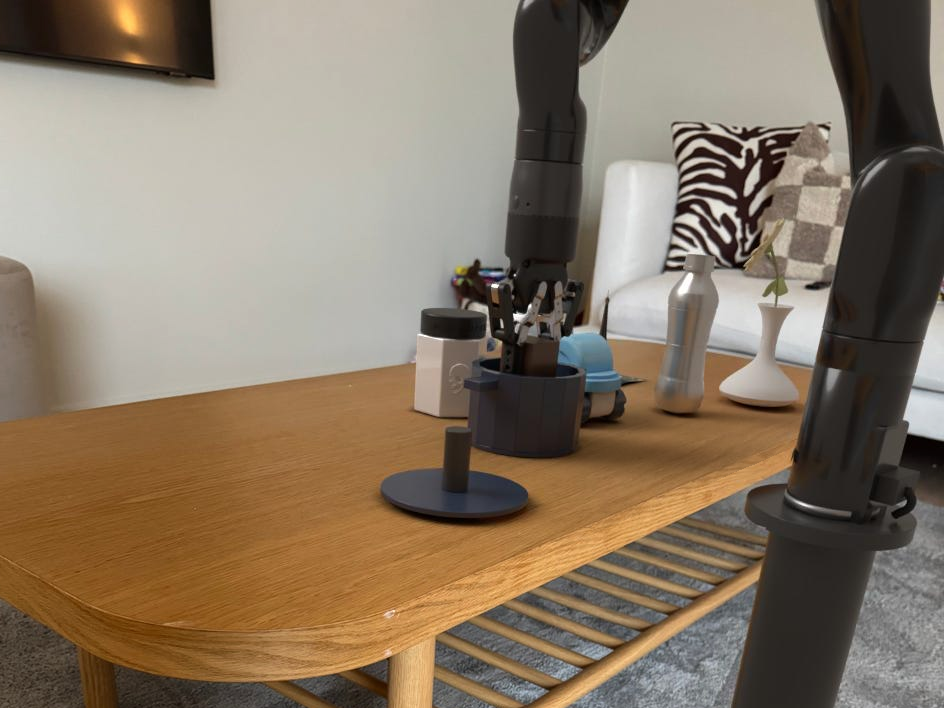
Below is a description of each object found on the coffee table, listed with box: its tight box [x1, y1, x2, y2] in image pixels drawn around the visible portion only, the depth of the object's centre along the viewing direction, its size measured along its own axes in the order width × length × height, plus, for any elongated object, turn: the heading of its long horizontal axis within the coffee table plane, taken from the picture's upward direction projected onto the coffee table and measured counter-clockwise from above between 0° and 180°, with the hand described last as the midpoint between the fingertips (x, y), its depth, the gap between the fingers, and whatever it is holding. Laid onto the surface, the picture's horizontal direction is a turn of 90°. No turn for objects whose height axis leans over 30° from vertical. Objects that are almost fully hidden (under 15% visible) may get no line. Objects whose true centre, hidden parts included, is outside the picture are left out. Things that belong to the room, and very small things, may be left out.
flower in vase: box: [718, 217, 800, 408], centre depth 134 cm, size 13×11×25 cm
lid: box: [380, 425, 530, 519], centre depth 87 cm, size 14×14×7 cm
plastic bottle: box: [653, 253, 720, 415], centre depth 126 cm, size 6×7×20 cm
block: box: [500, 334, 560, 377], centre depth 106 cm, size 4×4×4 cm
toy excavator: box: [558, 313, 627, 425], centre depth 122 cm, size 9×17×17 cm, turn 37°
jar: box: [413, 307, 488, 419], centre depth 119 cm, size 9×8×12 cm
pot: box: [464, 356, 587, 459], centre depth 108 cm, size 13×18×8 cm
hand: (528, 378), depth 106 cm, fingers closed on block, 4 cm apart
